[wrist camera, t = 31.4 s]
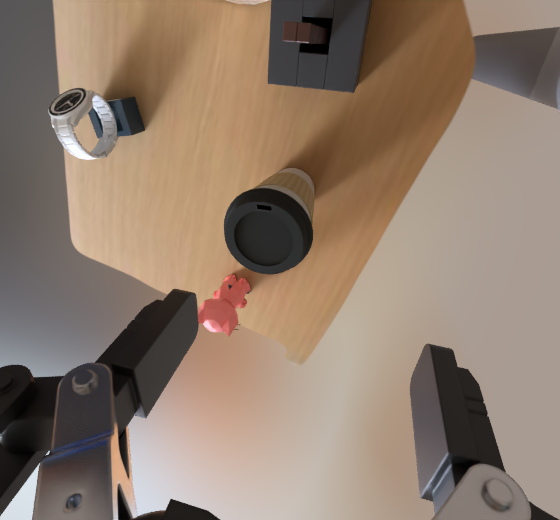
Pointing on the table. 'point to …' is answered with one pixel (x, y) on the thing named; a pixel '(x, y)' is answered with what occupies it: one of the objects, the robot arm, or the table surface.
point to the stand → (310, 64)
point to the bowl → (247, 1)
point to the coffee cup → (272, 223)
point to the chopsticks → (305, 33)
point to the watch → (94, 120)
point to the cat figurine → (224, 306)
